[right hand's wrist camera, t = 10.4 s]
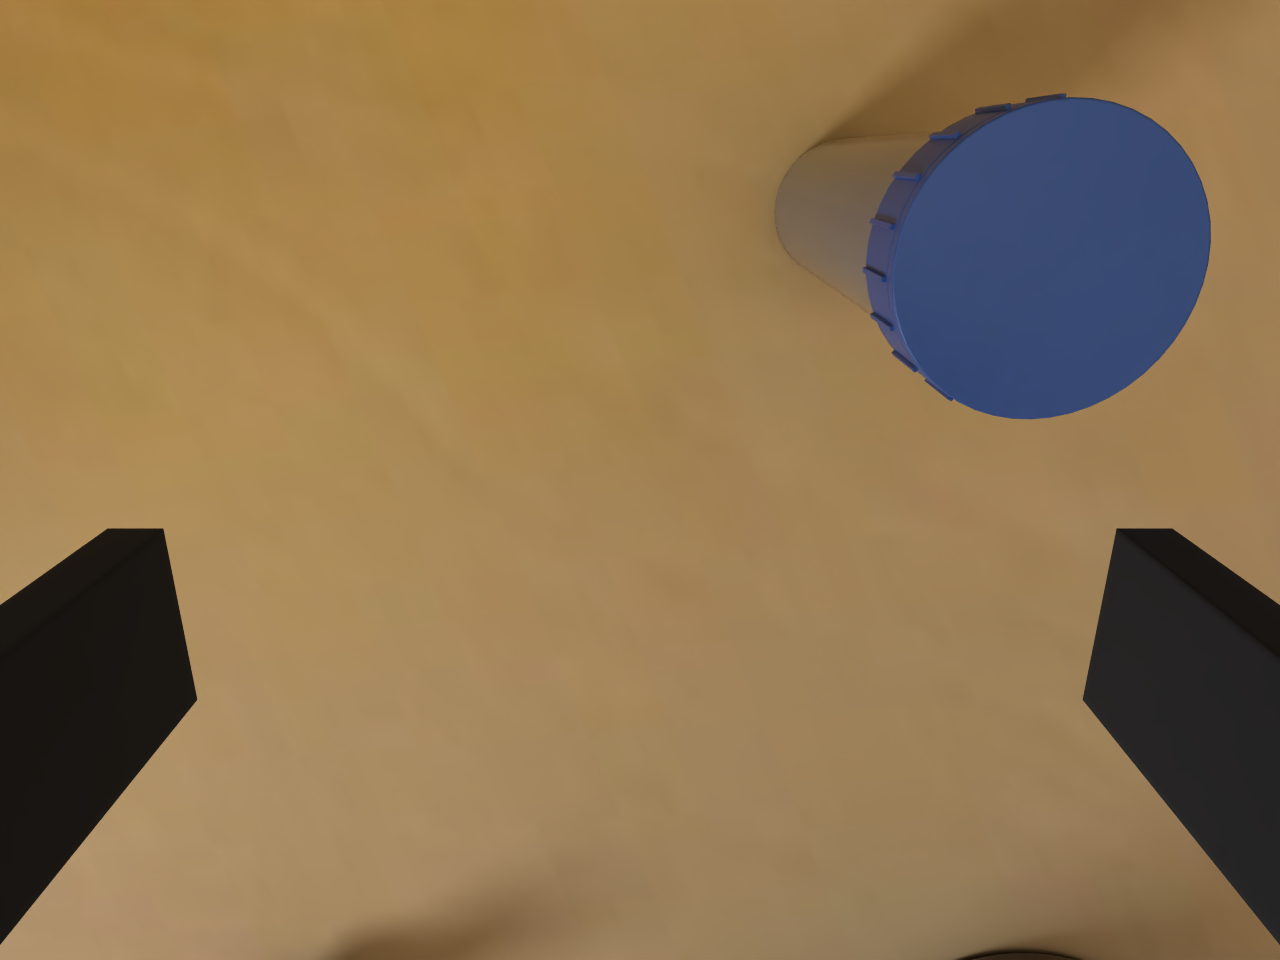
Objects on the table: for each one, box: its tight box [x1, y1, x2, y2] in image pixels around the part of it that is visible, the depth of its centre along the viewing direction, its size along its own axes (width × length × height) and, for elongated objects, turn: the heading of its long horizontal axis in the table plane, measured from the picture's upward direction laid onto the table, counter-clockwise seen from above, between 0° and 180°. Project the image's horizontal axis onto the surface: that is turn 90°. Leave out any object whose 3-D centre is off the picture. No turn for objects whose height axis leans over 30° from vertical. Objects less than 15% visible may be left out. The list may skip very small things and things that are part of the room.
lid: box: [863, 94, 1211, 419], centre depth 17 cm, size 6×6×2 cm
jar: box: [775, 131, 941, 314], centre depth 25 cm, size 5×5×17 cm
